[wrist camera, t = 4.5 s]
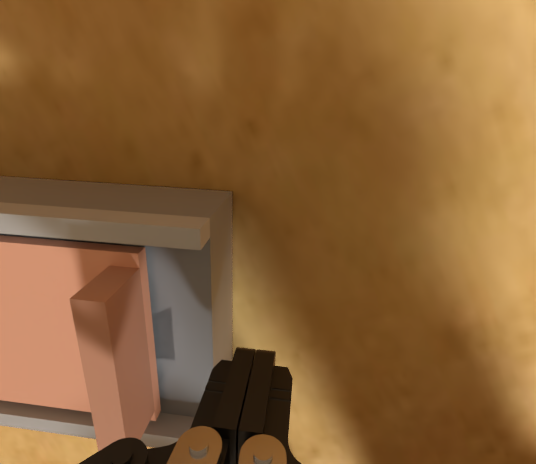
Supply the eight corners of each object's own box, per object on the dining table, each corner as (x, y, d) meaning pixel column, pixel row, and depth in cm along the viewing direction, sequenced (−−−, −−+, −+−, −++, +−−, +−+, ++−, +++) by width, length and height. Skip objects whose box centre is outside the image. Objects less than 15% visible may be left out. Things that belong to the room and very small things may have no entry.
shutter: (145, 247, 14) (102, 285, 11) (161, 410, 17) (130, 472, 14) (-64, 229, 15) (-152, 260, 12) (-13, 387, 18) (-74, 441, 15)
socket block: (232, 191, 17) (199, 229, 12) (232, 372, 21) (208, 454, 16) (-168, 164, 19) (-328, 187, 14) (-99, 333, 23) (-208, 395, 18)
